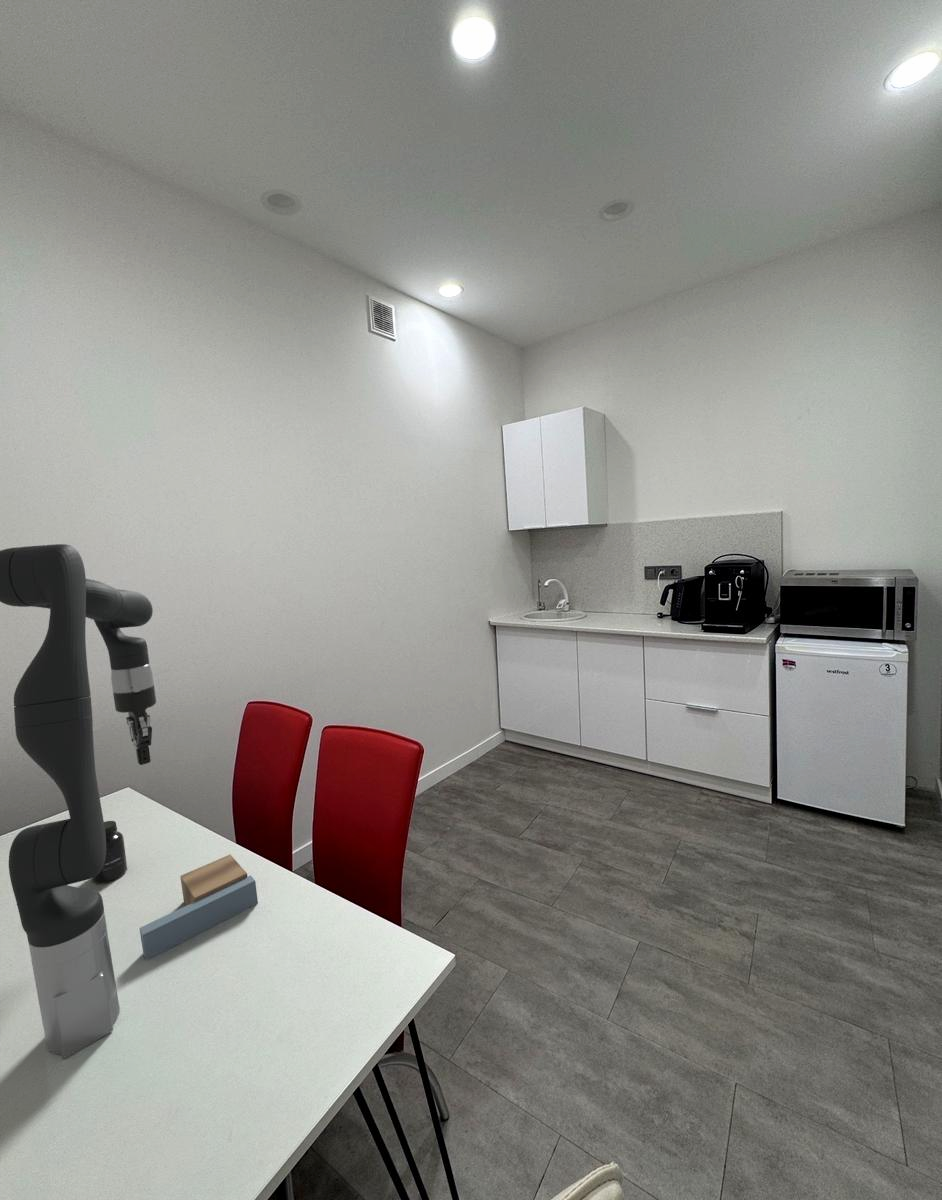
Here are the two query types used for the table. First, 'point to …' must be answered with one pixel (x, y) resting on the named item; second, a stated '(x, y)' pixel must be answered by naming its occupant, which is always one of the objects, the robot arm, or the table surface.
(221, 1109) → the table surface
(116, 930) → the table surface
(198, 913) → the slate board
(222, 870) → the walnut block
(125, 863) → the supplement bottle
